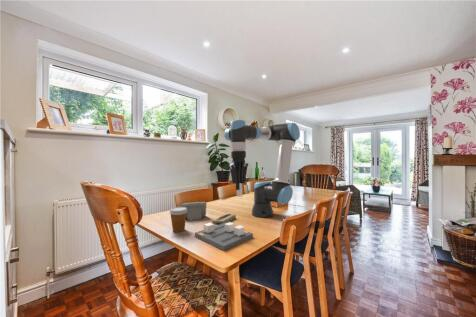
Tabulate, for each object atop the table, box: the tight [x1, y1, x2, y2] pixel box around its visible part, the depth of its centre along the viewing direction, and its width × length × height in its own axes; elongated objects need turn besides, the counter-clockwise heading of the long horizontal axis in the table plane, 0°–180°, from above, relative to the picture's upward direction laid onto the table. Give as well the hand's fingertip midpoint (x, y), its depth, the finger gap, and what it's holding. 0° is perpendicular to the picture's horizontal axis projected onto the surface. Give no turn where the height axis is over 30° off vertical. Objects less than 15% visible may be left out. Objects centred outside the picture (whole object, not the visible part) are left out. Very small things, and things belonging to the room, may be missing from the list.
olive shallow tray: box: [211, 213, 237, 226], centre depth 129 cm, size 16×8×3 cm, turn 151°
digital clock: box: [181, 201, 207, 221], centre depth 134 cm, size 16×9×11 cm, turn 95°
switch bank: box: [194, 223, 254, 251], centre depth 104 cm, size 20×22×2 cm
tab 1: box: [203, 222, 215, 233], centre depth 105 cm, size 4×4×4 cm
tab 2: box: [224, 221, 235, 232], centre depth 106 cm, size 4×4×4 cm
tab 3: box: [234, 224, 245, 236], centre depth 102 cm, size 4×4×4 cm
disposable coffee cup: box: [169, 206, 187, 233], centre depth 113 cm, size 10×10×12 cm
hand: (239, 195), depth 106 cm, fingers closed
